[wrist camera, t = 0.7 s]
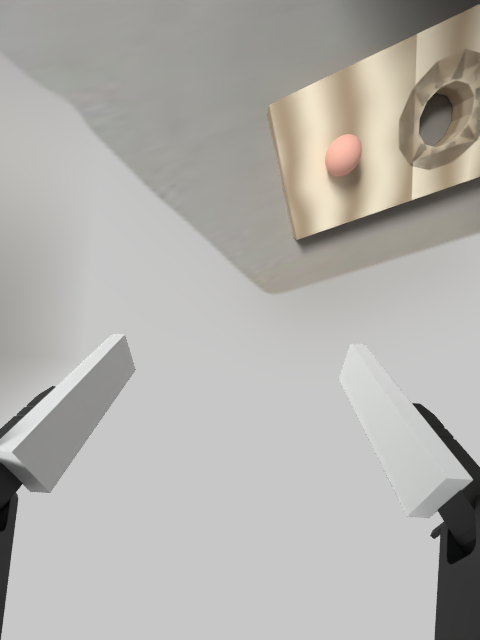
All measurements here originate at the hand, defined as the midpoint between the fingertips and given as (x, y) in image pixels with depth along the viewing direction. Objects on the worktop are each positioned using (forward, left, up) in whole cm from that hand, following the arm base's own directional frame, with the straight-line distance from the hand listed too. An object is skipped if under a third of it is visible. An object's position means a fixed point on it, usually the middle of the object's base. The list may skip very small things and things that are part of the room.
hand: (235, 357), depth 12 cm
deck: (-21, +8, -22) cm, 31 cm away
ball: (-16, +4, -18) cm, 24 cm away
